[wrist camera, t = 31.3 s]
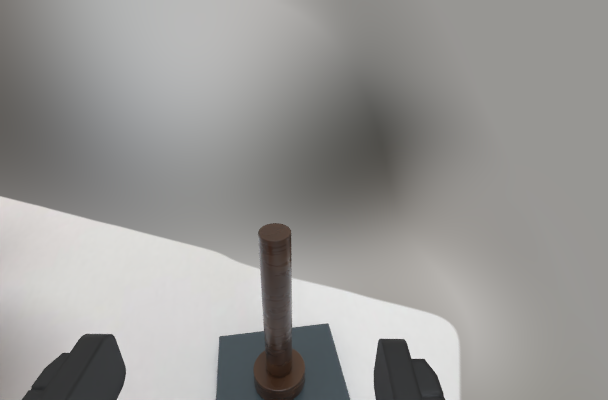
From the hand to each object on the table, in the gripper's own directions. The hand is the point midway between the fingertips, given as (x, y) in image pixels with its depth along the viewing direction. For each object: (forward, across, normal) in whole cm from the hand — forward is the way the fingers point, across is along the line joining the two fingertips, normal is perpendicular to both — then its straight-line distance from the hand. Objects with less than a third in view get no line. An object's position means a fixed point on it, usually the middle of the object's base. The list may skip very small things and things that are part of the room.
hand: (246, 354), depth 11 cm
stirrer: (+11, 0, +17) cm, 20 cm away
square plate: (+11, 0, +18) cm, 21 cm away
